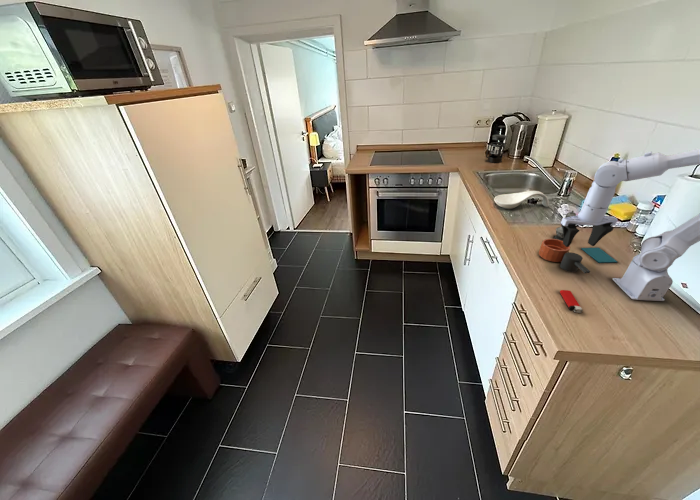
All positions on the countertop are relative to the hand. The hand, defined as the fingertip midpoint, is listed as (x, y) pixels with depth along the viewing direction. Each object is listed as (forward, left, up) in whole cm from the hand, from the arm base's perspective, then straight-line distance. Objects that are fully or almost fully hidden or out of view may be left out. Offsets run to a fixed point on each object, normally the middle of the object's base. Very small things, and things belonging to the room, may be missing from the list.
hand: (578, 244), depth 90 cm
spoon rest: (+50, -2, -9) cm, 51 cm away
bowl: (+6, +2, -9) cm, 11 cm away
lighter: (-18, +7, -9) cm, 21 cm away
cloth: (+8, -13, -9) cm, 18 cm away
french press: (+128, -11, -9) cm, 129 cm away
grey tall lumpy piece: (+19, -7, -9) cm, 22 cm away
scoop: (-2, 0, -9) cm, 9 cm away
